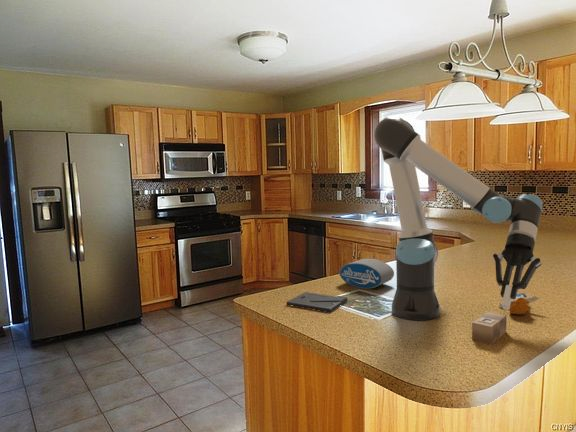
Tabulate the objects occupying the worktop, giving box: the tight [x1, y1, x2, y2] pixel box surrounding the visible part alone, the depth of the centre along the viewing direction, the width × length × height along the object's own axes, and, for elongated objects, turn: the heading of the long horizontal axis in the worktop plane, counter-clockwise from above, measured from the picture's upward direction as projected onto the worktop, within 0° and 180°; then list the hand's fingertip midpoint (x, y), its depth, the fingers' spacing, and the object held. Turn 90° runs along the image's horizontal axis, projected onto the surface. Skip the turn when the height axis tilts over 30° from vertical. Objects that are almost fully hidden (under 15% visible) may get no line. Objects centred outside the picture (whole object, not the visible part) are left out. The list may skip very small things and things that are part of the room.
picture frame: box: [286, 291, 349, 313], centre depth 148 cm, size 13×2×18 cm
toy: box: [498, 291, 540, 315], centre depth 132 cm, size 12×6×15 cm
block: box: [471, 311, 507, 345], centre depth 114 cm, size 5×5×11 cm
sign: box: [338, 258, 395, 289], centre depth 169 cm, size 20×10×10 cm, turn 49°
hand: (505, 307), depth 116 cm, fingers closed
